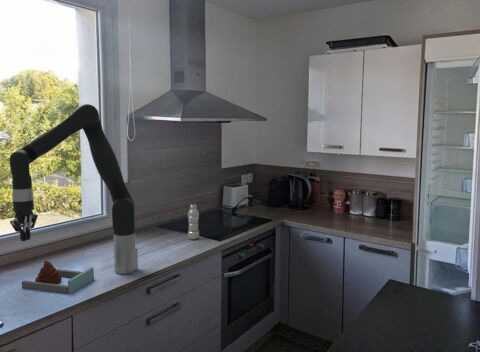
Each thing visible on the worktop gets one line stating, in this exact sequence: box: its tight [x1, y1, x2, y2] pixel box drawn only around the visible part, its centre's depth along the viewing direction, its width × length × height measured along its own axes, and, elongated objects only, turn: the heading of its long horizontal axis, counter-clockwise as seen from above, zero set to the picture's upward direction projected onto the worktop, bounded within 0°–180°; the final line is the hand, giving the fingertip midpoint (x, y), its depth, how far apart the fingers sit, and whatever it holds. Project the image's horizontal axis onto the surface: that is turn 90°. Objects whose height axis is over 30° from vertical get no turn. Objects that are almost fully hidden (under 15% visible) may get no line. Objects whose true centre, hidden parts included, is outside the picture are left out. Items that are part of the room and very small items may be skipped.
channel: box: [21, 267, 95, 294], centre depth 169 cm, size 22×16×5 cm
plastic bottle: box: [187, 203, 200, 240], centre depth 233 cm, size 6×7×20 cm
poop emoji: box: [34, 260, 62, 284], centre depth 170 cm, size 10×8×9 cm
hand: (25, 240), depth 171 cm, fingers closed
